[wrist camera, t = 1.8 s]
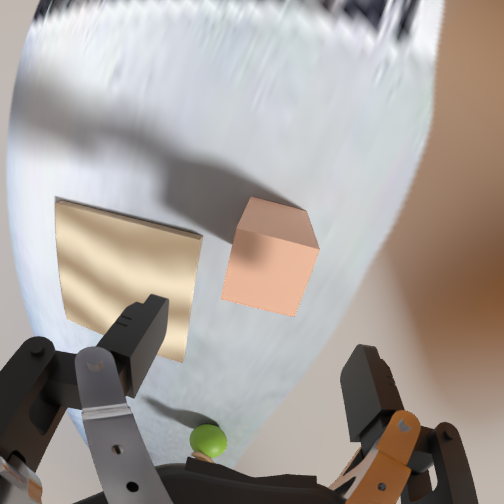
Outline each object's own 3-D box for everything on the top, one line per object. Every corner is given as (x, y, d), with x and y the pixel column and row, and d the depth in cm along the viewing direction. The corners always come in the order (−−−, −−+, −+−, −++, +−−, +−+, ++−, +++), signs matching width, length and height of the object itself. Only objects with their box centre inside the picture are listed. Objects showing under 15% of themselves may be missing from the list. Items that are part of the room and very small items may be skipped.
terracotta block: (250, 196, 22) (236, 227, 15) (306, 211, 22) (319, 249, 15) (238, 248, 24) (220, 298, 17) (290, 261, 24) (294, 316, 17)
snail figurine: (213, 439, 38) (200, 501, 27) (186, 420, 36) (167, 486, 25) (240, 434, 36) (230, 501, 25) (214, 414, 34) (197, 487, 23)
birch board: (61, 200, 24) (55, 202, 23) (202, 235, 24) (199, 240, 23) (70, 314, 30) (66, 318, 29) (184, 357, 30) (182, 362, 29)
